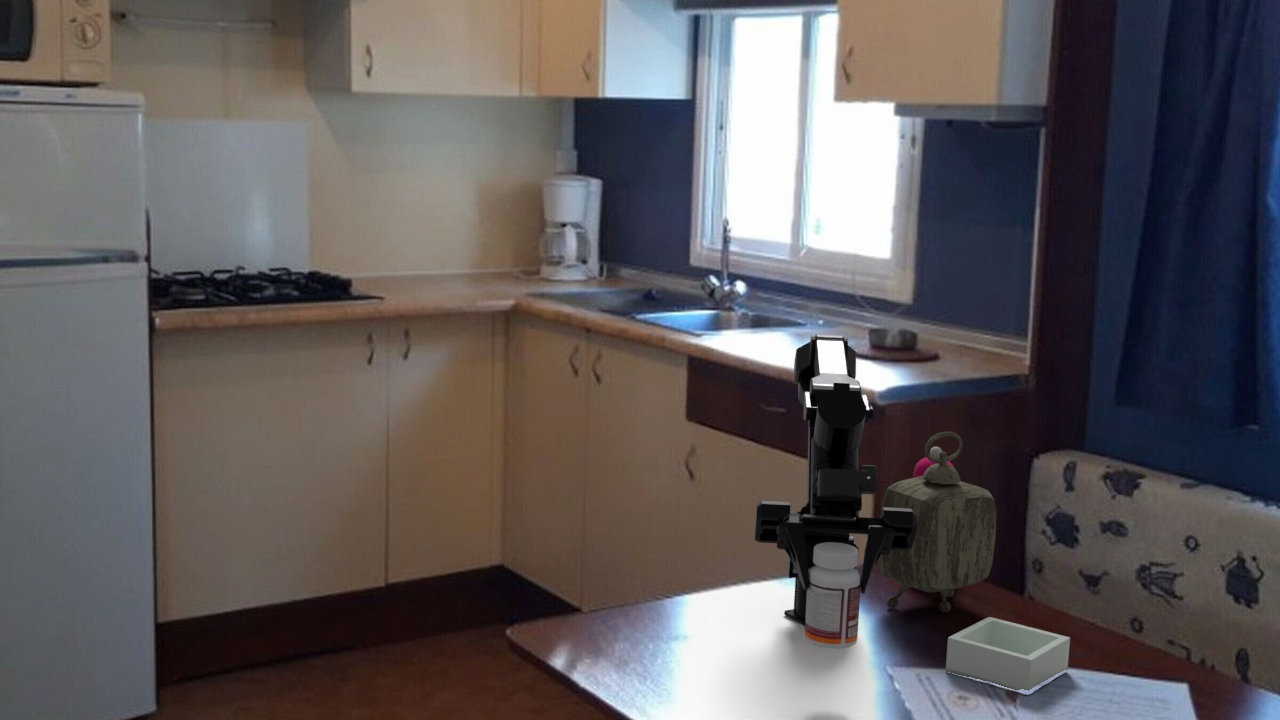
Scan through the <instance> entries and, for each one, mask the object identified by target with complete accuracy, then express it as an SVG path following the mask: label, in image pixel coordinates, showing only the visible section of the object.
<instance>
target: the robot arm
mask: <svg viewBox="0 0 1280 720" xmlns="http://www.w3.org/2000/svg"><path fill="white" fill-rule="evenodd" d="M794 357H795V358H794V362H793V363H794V365H793V384H798V385H797V399H798V401H799V402H800V405H801V406H802V407H803V410H802V411H803V420H804V421H808V427H807V428H808V431H807V432H808V433H807V437H808V439H807V482H806V483H807V484H806V485H807V486H806V487H807V489H806V491H807V492H806V493H807V494H806V495H807V496H806V504H805V505H804V506H802V507H801V510H800V511H798V510H791V502H789V501H773V500H772V501H771V500H770V501H769V500H761V501H760V502H758V504H757V505H756V511H755V512H756V513H755V522H754V523H755V525H754V541H756V542H757V543H762V544H763V543H765V544H776V548H777V549H779V550H784V551H785V552H786V554H787V574H788V575H787V576H788V578H790V579H793V578H795V582H794V600H793V602H794V603H793V608H792V609H786V610H784V614H783V615H785V616H787V618H790V619H792V620H794V621H796V622H797V623H800V624H802V625H804V626H805V618H806V597H807V590H808V580H809V571H810V569H811V568H812V567H814V566H815V565H816V564H814V563H813V553H814V546H815V545H817V544H820V543H827V542H836V543H844V544H848V545H851V546H854V547H855V548H857V549H858V551H859V546H858V545H857V544H856V540H855V537H854V536H853V535H852V534H854V535H855V534H857V535H866V536H867V537H866V544H865V548H864V555H863V561H862V570H861V587H860V594H865V593H866V591H867V587H868V584H869V582H870V578H871V576H872V573H873V570H874V568H875V566H876V565H877V564H878V559H879V558H880V556H881V555H888V554H889V553H890V550H909V549H911V548H912V545H913V542H914V538H915V534H916V530H917V516H916V514H915V512H914V511H913V510H912V509H908V508H889V507H883V509H882V513H881V518H880V517H877V518H876V517H863V516H861V517H860V512H861V511H862V507H863V501H862V497H863V495H872V496H873V495H875V494H876V492H877V488H878V470H877V469H878V467H877V465H867V464H865V465H864V464H863V465H861V466H860V468H859V446H860V444H861V443H862V438H863V437H862V436H863V432H864V427H865V424H869V419H873V416H874V415H873V413H874V408H873V406H872V404H871V403H870V401H869V400H868V397H867V394H865V393H862V387H861V384H860V381H859V380H857V379H856V376H857V352H856V350H855V349H854V348H852V347H851V346H850V345H849V339H848V337H846V336H844V335H843V334H842V335H841V334H839V335H838V334H824V333H823V334H821V333H820V334H819V333H817V334H815V335H810V340H809V342H807V343H805V344H803V345H802V346H799V347H797V348H796V351H795V355H794ZM850 534H851V535H850ZM854 568H855V569H856V570H857V566H856V567H854Z"/></svg>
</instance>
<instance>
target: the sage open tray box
mask: <svg viewBox="0 0 1280 720" xmlns="http://www.w3.org/2000/svg"><path fill="white" fill-rule="evenodd" d="M1070 644H1071V637H1069V636H1065V635H1062V634H1059V633H1054V632H1050V631H1046V630H1044V629H1039V628H1036V627H1035V628H1034V627H1030V626H1027V625H1023V624H1019V623H1016V622H1011V621H1007V620H1003V619H999V618H997V617H996V618H995V617H991V616H988V617H985V618H983V619H982V620H980V621H978V622H976V623H974V624H972V625H970V626H968V627H965V628H964V629H962V630H960V631H958V632H956V633H954V634H952V635H950V636H949V637H947V646H946V648H947V649H946V660H945V661H946V662H945V673H946V672H950V673H954V674H957V675H961V676H966V677H972V678H975V679H980V680H983V681H989V682H992V683H995V684H998V685H1001V686H1004V687H1007V688H1011V689H1014V690H1020V689H1024V690H1028V691H1029V690H1030V689H1032V688H1033V687H1035V686H1037V685H1039V684H1040V683H1042V682H1044V681H1046V680H1048V679H1049V678H1051V677H1053V676H1054V675H1056V674H1058V673H1060V672H1062V671H1064V670H1067V671H1068V670H1069V669H1068V668H1069V667H1068V666H1069V655H1070Z"/></svg>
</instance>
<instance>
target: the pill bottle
mask: <svg viewBox="0 0 1280 720" xmlns="http://www.w3.org/2000/svg"><path fill="white" fill-rule="evenodd" d="M858 557H859V550H858V549H857V548H855V547H854V546H851V545H848V544H844V543H836V542H827V543H820V544H817V545H815V546H814V553H813V563H814V564H816V565H815V566H814V567H812V568H811V569H810V571H809V580H808V590H807V597H806V618H805V625H804V638H805V640H806V641H807V642H808V643H809V644H810V645H812V646H814V647H817V648H822V649H828V650H844V649H849V648H851V647H853V646H854V645H855V644H856V643H857V642H858V632H859V619H860V618H859V617H860V602H861V577H862V575H861V574H860V572H859V571H858V570H857V566H858V563H859V562H858V560H859V559H858ZM854 567H856V569H855V568H854Z"/></svg>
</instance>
